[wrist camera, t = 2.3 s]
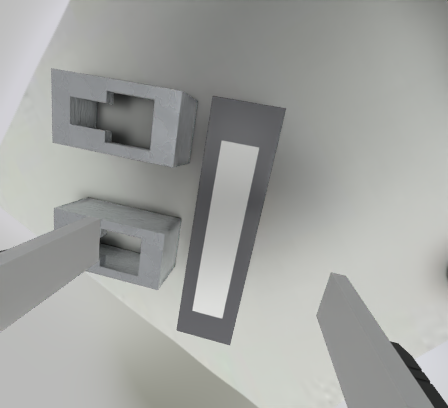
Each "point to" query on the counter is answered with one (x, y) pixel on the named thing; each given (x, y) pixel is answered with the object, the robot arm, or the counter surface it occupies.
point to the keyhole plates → (101, 142)
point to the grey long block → (227, 214)
